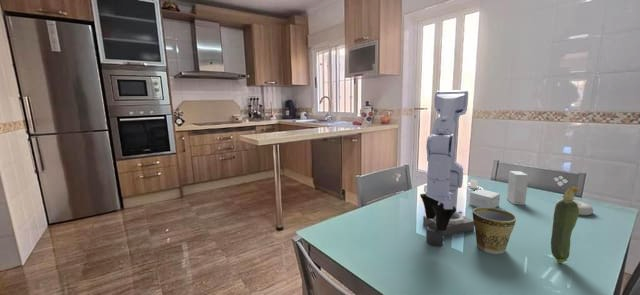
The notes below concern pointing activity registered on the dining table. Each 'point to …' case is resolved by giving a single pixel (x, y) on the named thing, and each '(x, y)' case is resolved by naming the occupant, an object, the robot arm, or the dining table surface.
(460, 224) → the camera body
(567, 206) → the vegetable
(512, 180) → the skincare box
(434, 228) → the lens
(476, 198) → the small box
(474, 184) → the teacup and saucer
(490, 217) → the ceramic cup
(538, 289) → the dining table surface
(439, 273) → the dining table surface
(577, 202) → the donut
